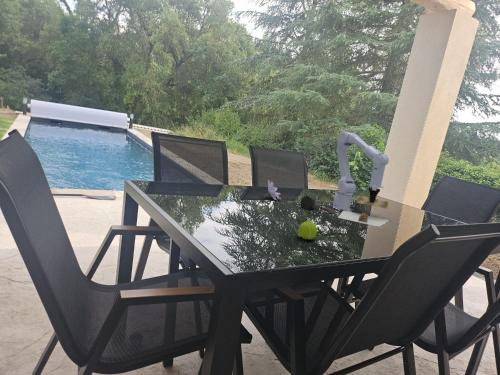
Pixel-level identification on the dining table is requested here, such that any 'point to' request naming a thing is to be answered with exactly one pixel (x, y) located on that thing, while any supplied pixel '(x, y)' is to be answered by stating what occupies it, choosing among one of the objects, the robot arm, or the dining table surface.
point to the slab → (355, 217)
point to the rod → (376, 203)
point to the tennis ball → (307, 230)
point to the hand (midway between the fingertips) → (371, 202)
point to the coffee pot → (311, 204)
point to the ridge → (363, 217)
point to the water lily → (272, 191)
